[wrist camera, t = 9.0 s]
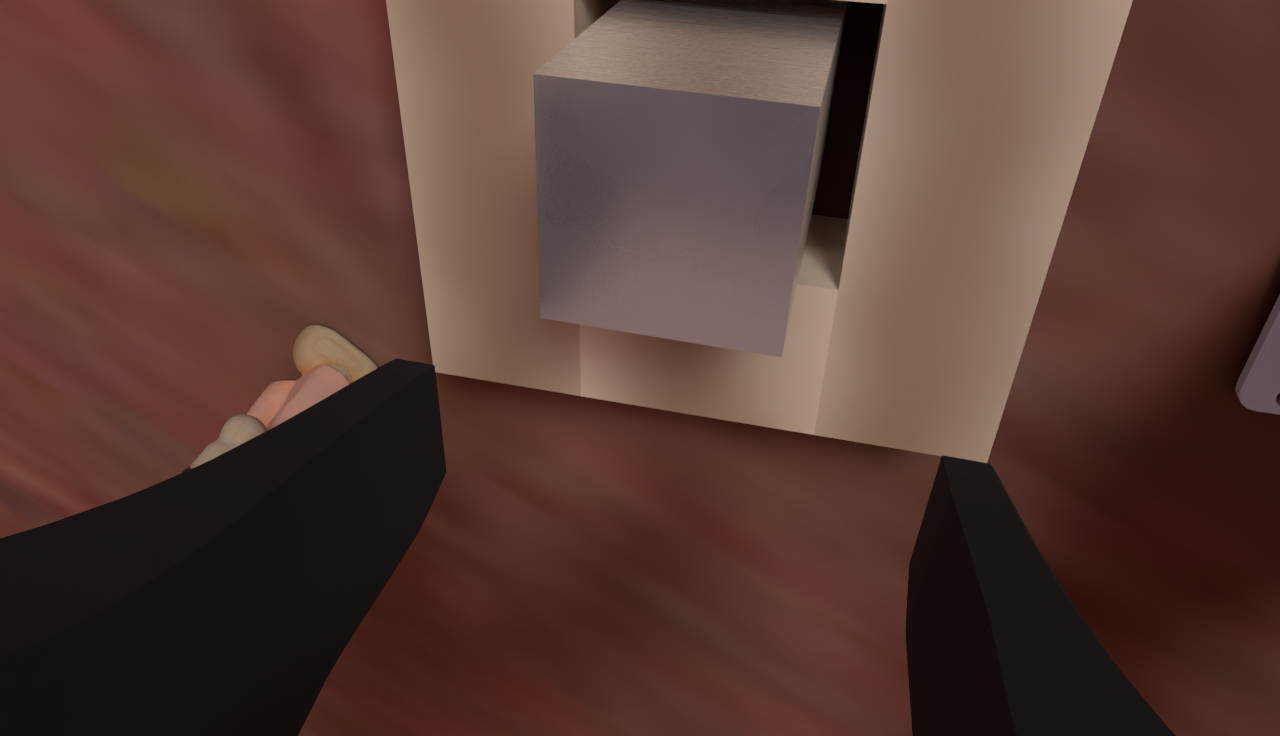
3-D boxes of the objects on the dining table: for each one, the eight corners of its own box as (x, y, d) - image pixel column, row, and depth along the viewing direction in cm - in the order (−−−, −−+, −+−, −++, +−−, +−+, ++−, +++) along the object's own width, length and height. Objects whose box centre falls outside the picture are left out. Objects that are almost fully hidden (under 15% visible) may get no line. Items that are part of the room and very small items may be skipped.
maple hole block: (1157, -259, 15) (1215, -264, 12) (976, 375, 22) (987, 464, 20) (439, -277, 18) (349, -283, 15) (487, 302, 25) (433, 371, 22)
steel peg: (851, -15, 18) (820, 107, 12) (820, 170, 21) (781, 357, 14) (659, -33, 19) (532, 73, 13) (650, 149, 21) (540, 318, 15)
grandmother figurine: (263, 283, 26) (-140, 612, 16) (384, 311, 26) (47, 669, 16) (292, 476, 31) (-10, 829, 21) (396, 503, 30) (139, 879, 20)
